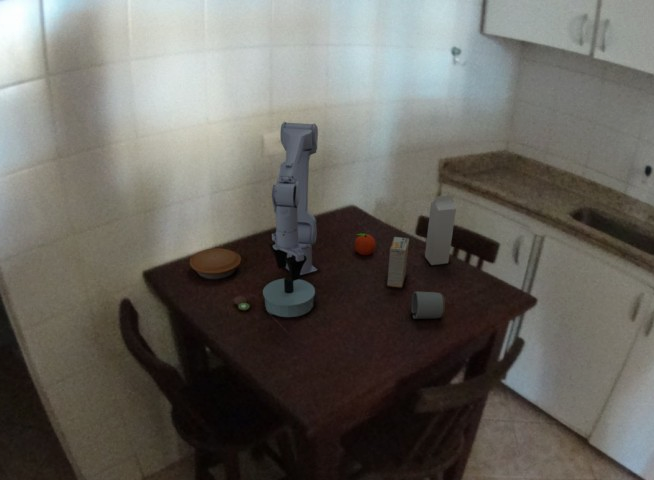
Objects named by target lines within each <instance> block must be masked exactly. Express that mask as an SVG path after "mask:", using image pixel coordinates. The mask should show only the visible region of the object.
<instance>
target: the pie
mask: <svg viewBox="0 0 654 480" xmlns="http://www.w3.org/2000/svg"><path fill="white" fill-rule="evenodd" d="M241 261H242V258H241V255H240V254H239V253H238V252H235V251H233V250H230V249H227V248H220V247H213V248H206V249H204V250H201V251H199V252H197V253H195V254H193V255H192V256H191V257H190V258H189V261H188V263H189V265H190V267H191V269H193V270H194V271H195V272H196V273H197V274H198V275H199V276H200V277H202V278H204V279H207V280H221V279H226V278H228V277H231V276H232V275H233V274H234V273H235V271H236V270H237V268H238V266H239V265H240V264H241Z"/></svg>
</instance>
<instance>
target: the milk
mask: <svg viewBox="0 0 654 480" xmlns="http://www.w3.org/2000/svg"><path fill="white" fill-rule="evenodd" d="M454 198H455V197H454V195H453V194H450V195H449V194H447V195H439V196H438V195H437V196H435V198H434V201H432V202H430V208H429V216H428V217H429V218H428V224H427V225H428V226H427V234H426V243H425V250H424V258H425V259H426V260H427V261H428V263H429V264H430V265H431V266H435V265H445V264H449V261H450V254H451V248H452V241H453V240H452V239H453V234H454V233H453V232H454V225H455V220H456V213H457V207H456V203H455V201H454Z"/></svg>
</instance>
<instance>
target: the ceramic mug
mask: <svg viewBox="0 0 654 480" xmlns="http://www.w3.org/2000/svg"><path fill="white" fill-rule="evenodd" d="M445 310H446V299H445V296H444V295H443V293H441V292H435V291H433V292H432V291H414V292H413V294H412V297H411V313H412V318H413V319H414V320H429V319H430V320H432V319H435V320H437V319H440V318H442V317H443V316H444V314H445Z"/></svg>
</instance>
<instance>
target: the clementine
mask: <svg viewBox="0 0 654 480" xmlns="http://www.w3.org/2000/svg"><path fill="white" fill-rule="evenodd" d="M356 236H357V237H356ZM355 237H356V238H355ZM353 238H355V240H354V244H353V245H354V249H355V251H356V252H357V254H359V255H361V256H369V255H371V254H372V253H373V252H375V249H376V245H377V243H376V240H375V238H374V237H373V236H372V235H371V234H368V233H357V234H355V235H354V236H353Z"/></svg>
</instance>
